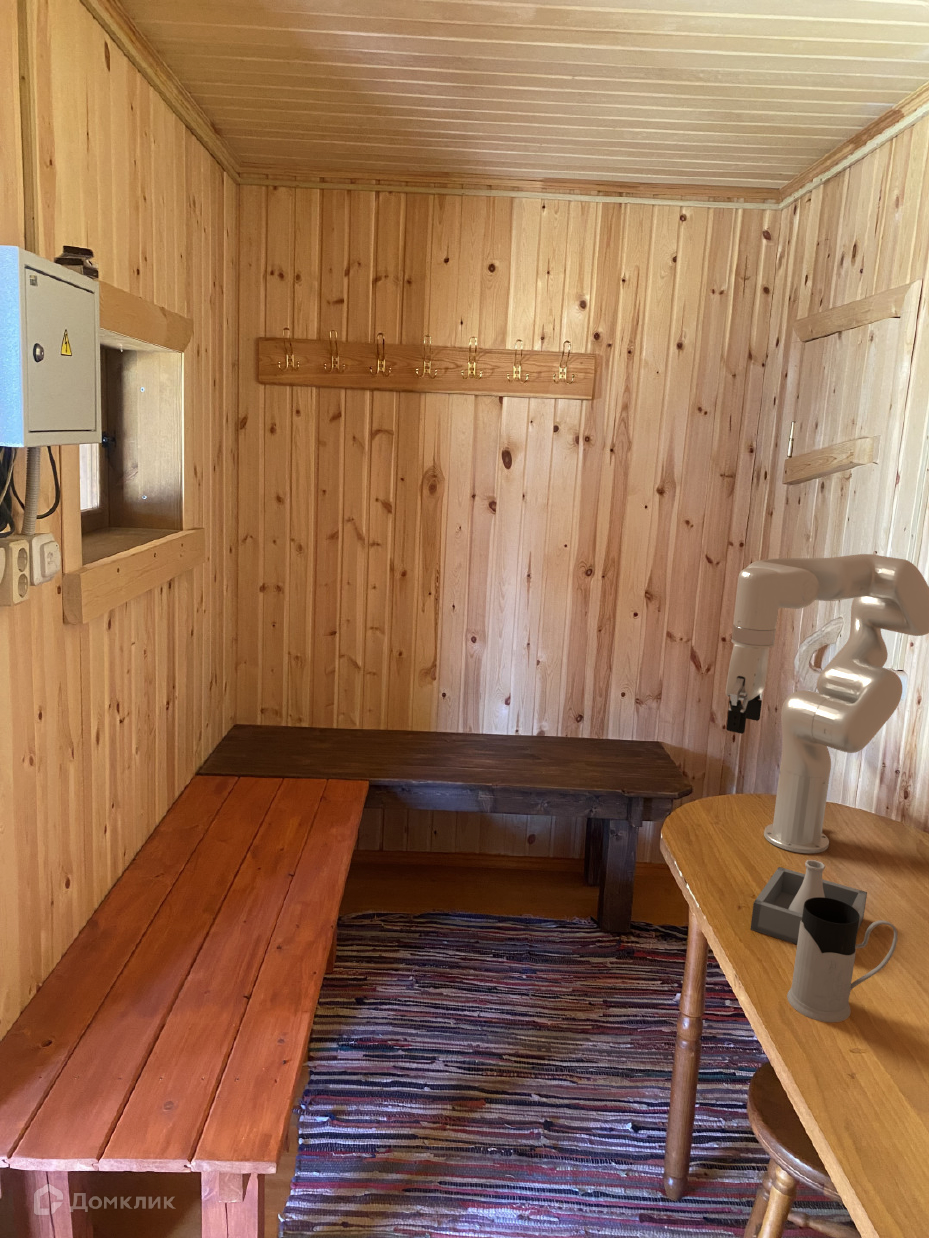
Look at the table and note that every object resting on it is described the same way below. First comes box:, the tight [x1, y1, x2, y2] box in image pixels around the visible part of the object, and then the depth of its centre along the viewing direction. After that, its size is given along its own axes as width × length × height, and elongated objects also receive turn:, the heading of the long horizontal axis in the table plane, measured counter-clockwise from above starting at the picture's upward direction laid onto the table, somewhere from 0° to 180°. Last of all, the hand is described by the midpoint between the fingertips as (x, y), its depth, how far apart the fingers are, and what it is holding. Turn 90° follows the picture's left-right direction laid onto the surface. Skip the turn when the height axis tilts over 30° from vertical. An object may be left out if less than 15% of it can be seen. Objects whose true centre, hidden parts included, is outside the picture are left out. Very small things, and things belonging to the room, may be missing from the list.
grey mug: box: [786, 897, 899, 1023], centre depth 133 cm, size 9×14×15 cm, turn 88°
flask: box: [788, 859, 826, 914], centre depth 156 cm, size 7×7×10 cm
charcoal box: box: [749, 866, 868, 946], centre depth 156 cm, size 16×15×5 cm
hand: (743, 725), depth 171 cm, fingers open, 9 cm apart
